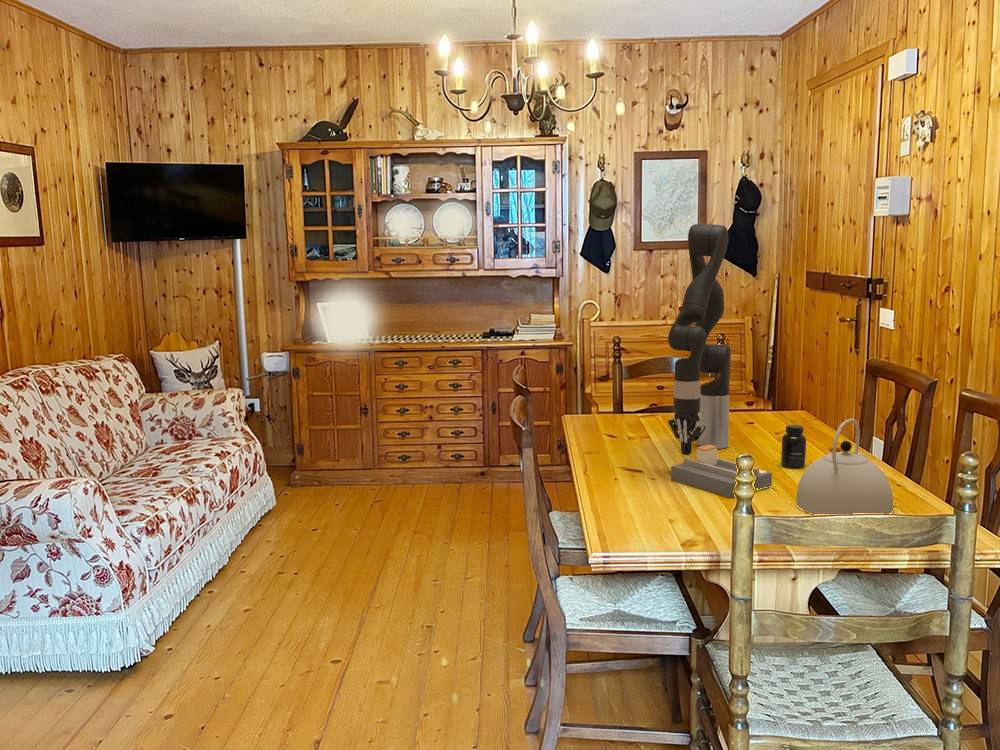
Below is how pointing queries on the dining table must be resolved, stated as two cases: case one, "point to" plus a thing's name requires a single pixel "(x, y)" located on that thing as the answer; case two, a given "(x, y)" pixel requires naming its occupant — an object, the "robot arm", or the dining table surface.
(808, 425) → the dining table surface
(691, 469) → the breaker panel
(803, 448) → the supplement bottle
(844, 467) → the kettle
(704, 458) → the handle
